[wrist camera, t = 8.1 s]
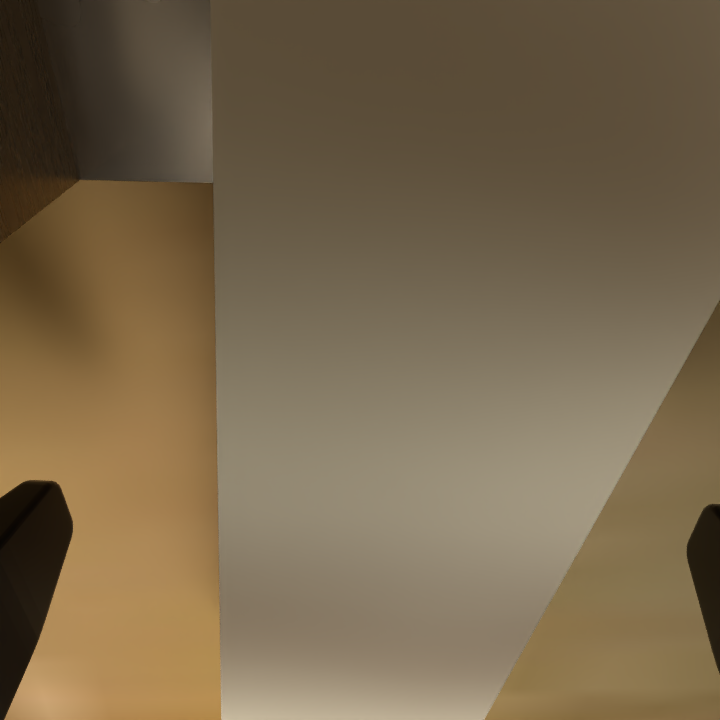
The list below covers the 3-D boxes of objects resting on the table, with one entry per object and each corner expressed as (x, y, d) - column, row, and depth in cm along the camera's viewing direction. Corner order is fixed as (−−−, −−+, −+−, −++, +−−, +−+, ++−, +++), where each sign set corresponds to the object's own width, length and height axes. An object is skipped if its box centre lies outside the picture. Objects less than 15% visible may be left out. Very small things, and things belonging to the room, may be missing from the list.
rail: (399, 661, 15) (402, 864, 12) (258, 647, 15) (223, 849, 12) (688, -203, 6) (1067, -323, 3) (308, -268, 6) (201, -483, 2)
